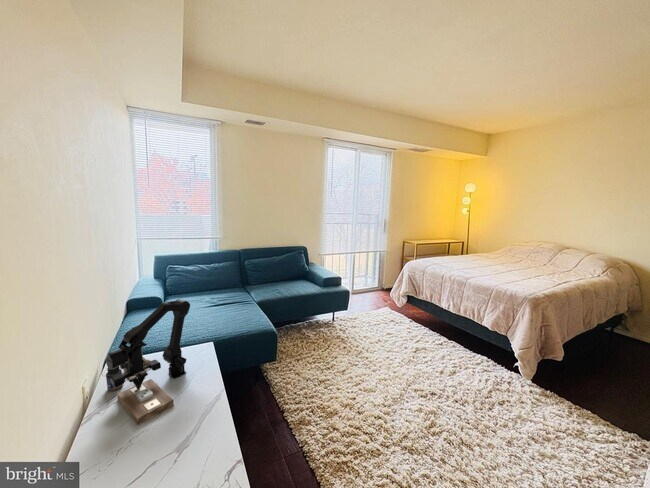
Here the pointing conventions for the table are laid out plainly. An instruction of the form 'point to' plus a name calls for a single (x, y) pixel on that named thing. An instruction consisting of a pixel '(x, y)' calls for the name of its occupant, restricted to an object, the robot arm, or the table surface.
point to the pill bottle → (108, 376)
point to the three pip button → (144, 395)
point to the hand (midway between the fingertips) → (138, 389)
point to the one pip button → (151, 404)
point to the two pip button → (135, 391)
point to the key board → (138, 409)
